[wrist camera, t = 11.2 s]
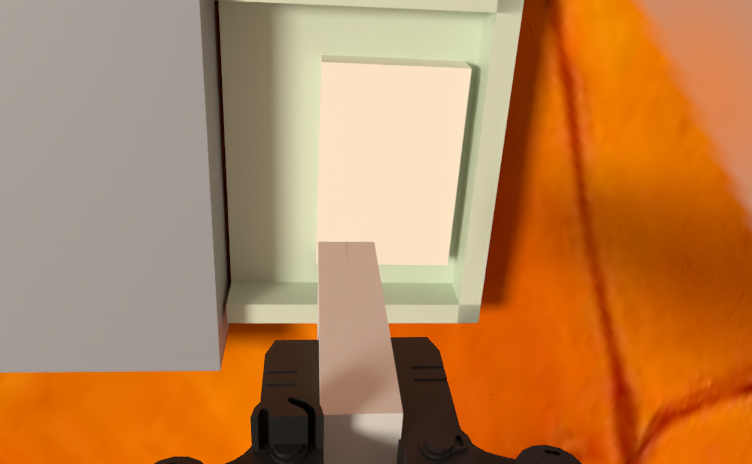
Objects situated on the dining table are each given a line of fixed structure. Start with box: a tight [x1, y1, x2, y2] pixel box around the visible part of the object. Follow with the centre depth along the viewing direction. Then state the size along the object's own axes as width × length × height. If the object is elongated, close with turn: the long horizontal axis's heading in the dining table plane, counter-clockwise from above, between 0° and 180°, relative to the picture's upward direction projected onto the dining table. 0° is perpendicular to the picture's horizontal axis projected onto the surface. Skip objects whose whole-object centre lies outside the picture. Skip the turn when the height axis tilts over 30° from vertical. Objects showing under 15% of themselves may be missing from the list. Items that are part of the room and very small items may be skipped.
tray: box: [219, 0, 524, 323], centre depth 29 cm, size 15×12×2 cm
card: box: [316, 55, 472, 265], centre depth 29 cm, size 9×6×1 cm, turn 176°
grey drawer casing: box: [0, 0, 230, 372], centre depth 27 cm, size 18×14×4 cm
